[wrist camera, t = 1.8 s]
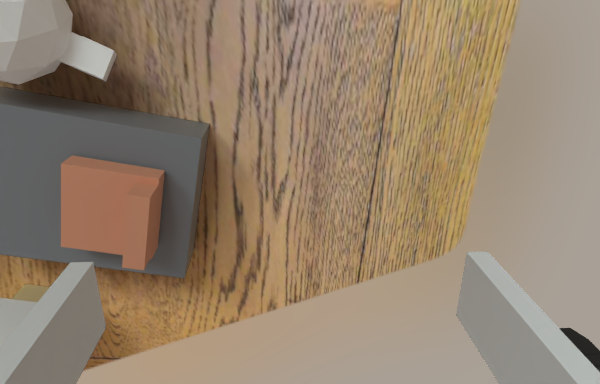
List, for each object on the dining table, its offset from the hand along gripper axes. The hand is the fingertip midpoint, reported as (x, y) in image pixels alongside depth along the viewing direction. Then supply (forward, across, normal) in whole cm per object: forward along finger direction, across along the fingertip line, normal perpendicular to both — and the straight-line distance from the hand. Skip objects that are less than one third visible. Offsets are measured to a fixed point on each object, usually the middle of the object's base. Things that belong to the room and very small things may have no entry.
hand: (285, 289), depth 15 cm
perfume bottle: (+26, -18, +8) cm, 32 cm away
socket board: (+25, -16, -4) cm, 30 cm away
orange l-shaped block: (+20, -13, -5) cm, 24 cm away
